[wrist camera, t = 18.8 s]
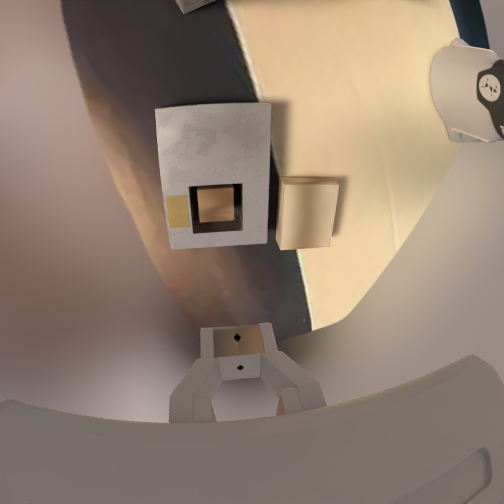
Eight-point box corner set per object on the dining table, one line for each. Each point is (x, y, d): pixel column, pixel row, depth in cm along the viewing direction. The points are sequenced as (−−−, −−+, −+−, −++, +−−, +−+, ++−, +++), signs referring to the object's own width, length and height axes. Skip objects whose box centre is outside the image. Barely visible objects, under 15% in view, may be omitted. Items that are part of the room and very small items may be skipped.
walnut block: (233, 188, 30) (234, 220, 32) (230, 177, 33) (231, 206, 35) (197, 190, 30) (199, 222, 32) (198, 179, 33) (200, 208, 35)
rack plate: (265, 102, 29) (271, 103, 26) (262, 230, 38) (266, 243, 35) (161, 107, 27) (155, 109, 24) (173, 235, 36) (170, 250, 33)
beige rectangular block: (330, 177, 35) (339, 184, 32) (322, 236, 40) (329, 246, 37) (279, 177, 34) (284, 184, 32) (275, 238, 39) (280, 250, 36)
